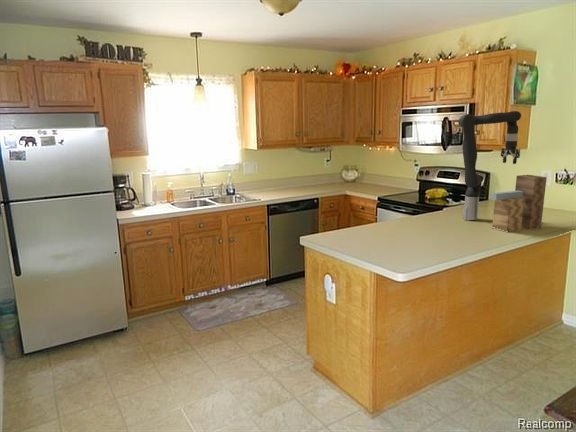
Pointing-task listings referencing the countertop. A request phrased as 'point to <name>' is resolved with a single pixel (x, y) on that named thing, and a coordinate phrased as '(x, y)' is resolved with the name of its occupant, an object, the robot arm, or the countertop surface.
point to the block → (508, 214)
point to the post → (532, 199)
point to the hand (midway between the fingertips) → (509, 163)
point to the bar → (507, 195)
